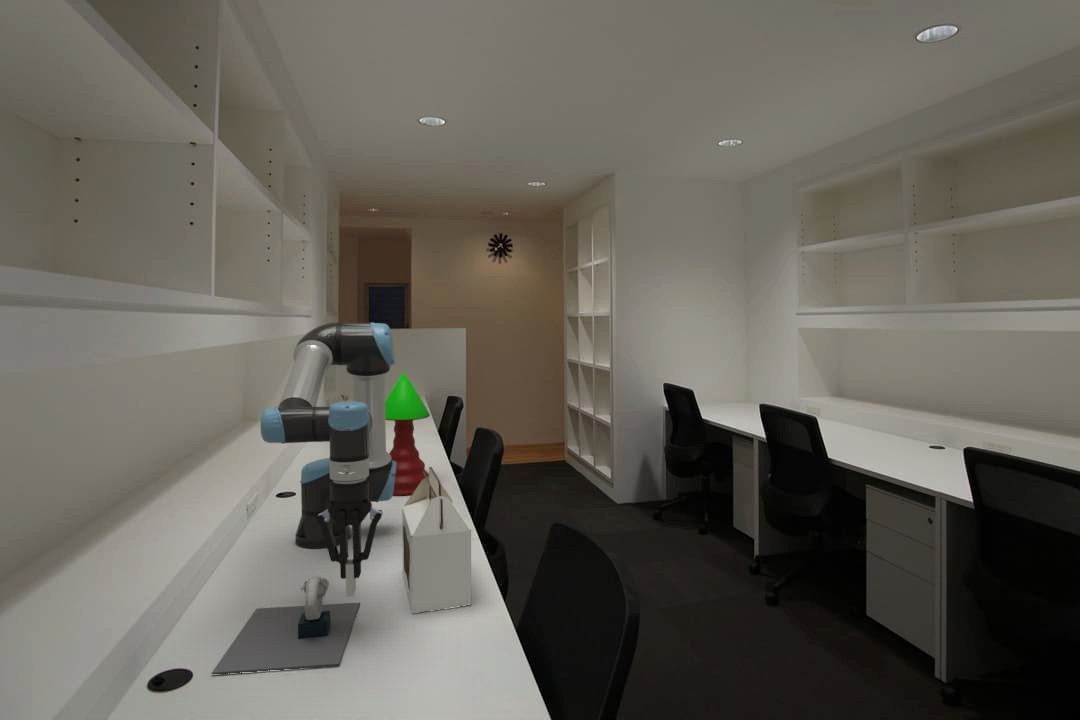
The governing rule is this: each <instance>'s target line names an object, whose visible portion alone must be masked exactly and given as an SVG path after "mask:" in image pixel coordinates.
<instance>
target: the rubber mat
mask: <svg viewBox="0 0 1080 720" xmlns="http://www.w3.org/2000/svg"><path fill="white" fill-rule="evenodd" d="M305 606H306V605H296V606H295V605H294V606H279V607H278V606H276V607H262V608H261V607H260V608H259V607H258V608H255V609H254V611H253V613H252V614H251V615H250V617H249V618H248V620H247V622H246V623H245V624H244V626H243V627H242V628H241V629H240V631H239V633H238V635H237V636H236V637H235V639H233V641H232V643H231V644H230V646H229V647H228V648H227V650H226V651H225V653H224V655H223V656H222V657H221V659H220V660H219V662H218V663H217V665H216V666H215V667H214V668H213V670H212V672H211V675H212V674H228V673H229V674H230V673H240V672H241V673H242V672H257V671H268V670H269V671H270V670H284V669H300V668H314V669H325V668H326V667H327V668H339V667H340V666H341V663H342V660H343V657H344V654H345V650H346V648H347V646H348V642H349V638H350V636H351V633H352V629H353V627H354V625H355V622H354V621H356V619H355V618H357V616H356V615H358V613H357V612H359V609H360V606H361V602H346V603H345V602H344V603H328V604H326V603H325V604H322V611H330V629H329V632H328V636H324V637H314V638H304V639H298V622H299V620H300V617H301V614H302V613H305ZM322 611H321V612H322ZM338 666H339V667H338ZM322 667H323V668H322ZM324 667H325V668H324Z"/></svg>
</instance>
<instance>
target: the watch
mask: <svg viewBox="0 0 1080 720" xmlns="http://www.w3.org/2000/svg"><path fill="white" fill-rule="evenodd" d="M329 585H330V581H329V580H328V579H327V578H325V577H322V576H318V575H317V576H311V577H308V578H307V579H305V580H304V582H303V585H301V586H300V590H302V591H303V592H304V593H305V605H304V606H305V613H302V614H301V617H300V620H299V622H298V639H304V638H314V637H324V636H328V632H329V629H330V611H322V605H323V603H324V602H323V600H324V598H325V596H326V594H327V591H328V590H329ZM321 611H322V612H321Z"/></svg>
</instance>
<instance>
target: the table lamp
mask: <svg viewBox="0 0 1080 720" xmlns="http://www.w3.org/2000/svg"><path fill="white" fill-rule="evenodd" d="M430 416H431V414H430V412H429V410H428V409H427V407H426V405H425V403H424V402H423V399H422V397H421V396H420V395H419V392H418V391H417V389H416V388H415V386H414V385H413V383H412V382H411V380H410V379H409V377H408V376H407V375H406V374H405V372H404V371H403V373H402V374H401V375H400V376H399V378H398V380H397V382H396V383H395V384H394V386H393V387H392V389H391V391H390V392H389V394H388V396H387V398H385V421H393V422H394V426H393V432H394V437H393V440H392V441H393V442H392V443H393V446H392V449H391V450H390V451H389V452H388V453H389V454H390V455H391V461H392V460H393V461H396V474H395V483H394V491H393V496H409V495H410V496H411V495H412V494H413V492H414V491H415V489H416V488H417V486H418V485H419V483H420V482H421V481H422V480H423V479H424V478H426V477H428V476H429V471H427V470H425V468H426V464H425V462H424V461H423V460H422V459H421V458H420V451H419V450H418V449H417V448H416V440H415V438H414V430H415V427H414V426H415V425H414V423H413V422H414V420H415V421H416V420H418V421H419V420H422V419H427V418H429V417H430ZM423 471H424V473H425V475H426V477H425V475H424V473H423Z"/></svg>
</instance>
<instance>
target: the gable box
mask: <svg viewBox="0 0 1080 720" xmlns="http://www.w3.org/2000/svg"><path fill="white" fill-rule="evenodd" d="M423 473H424V471H423ZM428 473H429V476H428V477H426V475H425V473H424V475H425V477H426V478H424V479H423V480H422V481H421V482H420V483H419V485H418V486H417V488H416V489H415V491H414V492H413V494H411V495H410V497H409V498H408V500H407V501H406V503H405V504H404V505H403V506H402V507H401V513H402V523H401V525H402V529H401V530H402V575H403V581H404V586H405V590H406V595H407V599H408V600H407V601H408V604H410V605H409V608H410V613H411V614H412V613H417V614H419V613H418V612H424V611H431V610H438V609H445V608H450V607H457V606H463V605H468V604H471V605H472V529H471V528H470V526H469V524H468V523H467V522H466V519H465V518H464V516H463V514H462V513H461V511H460V510H459V508H458V506H457V504H456V502H454V501H453V499H452V498H451V496H450V495H449V493H448V491H447V490H446V489H445V488H444V486H443V484H442V483H441V480H440V479H439V477H438V475H437V474H436V472H435V471H434V468H433V467H432V466H429V467H428ZM445 610H446V609H445ZM438 611H439V610H438ZM431 612H432V611H431ZM424 613H425V612H424Z"/></svg>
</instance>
